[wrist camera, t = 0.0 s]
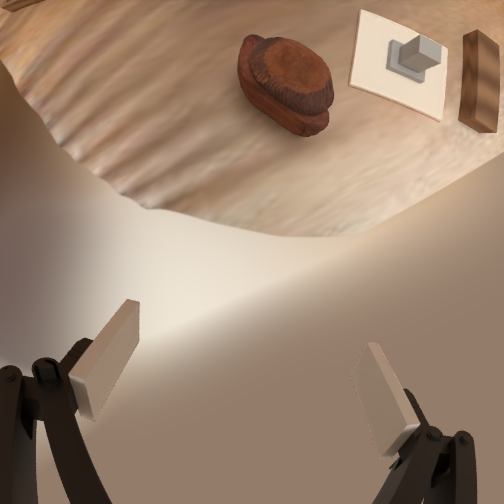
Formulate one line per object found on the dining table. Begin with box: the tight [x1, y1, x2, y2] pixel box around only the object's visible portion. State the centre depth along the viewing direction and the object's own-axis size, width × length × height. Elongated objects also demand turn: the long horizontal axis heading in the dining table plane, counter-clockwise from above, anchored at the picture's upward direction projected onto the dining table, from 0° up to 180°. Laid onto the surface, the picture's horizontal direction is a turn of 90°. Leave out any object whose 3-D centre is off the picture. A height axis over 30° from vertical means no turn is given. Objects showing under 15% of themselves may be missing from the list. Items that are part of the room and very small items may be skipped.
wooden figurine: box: [238, 34, 334, 137], centre depth 28 cm, size 12×6×18 cm, turn 51°
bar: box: [458, 29, 500, 133], centre depth 31 cm, size 18×6×5 cm, turn 168°
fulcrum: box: [348, 9, 448, 122], centre depth 29 cm, size 14×16×9 cm
